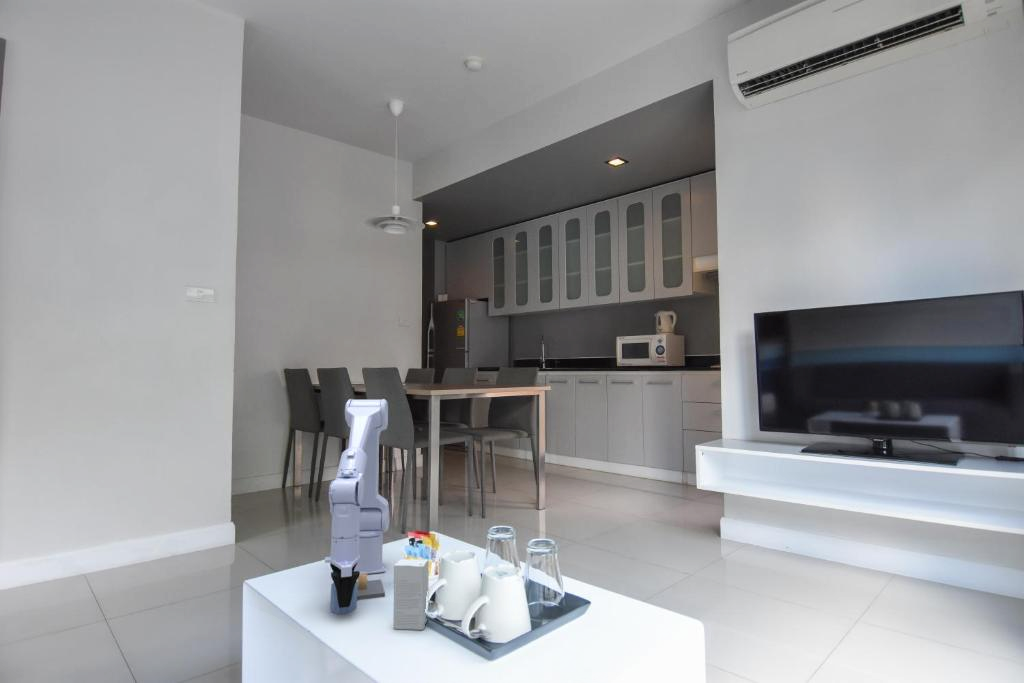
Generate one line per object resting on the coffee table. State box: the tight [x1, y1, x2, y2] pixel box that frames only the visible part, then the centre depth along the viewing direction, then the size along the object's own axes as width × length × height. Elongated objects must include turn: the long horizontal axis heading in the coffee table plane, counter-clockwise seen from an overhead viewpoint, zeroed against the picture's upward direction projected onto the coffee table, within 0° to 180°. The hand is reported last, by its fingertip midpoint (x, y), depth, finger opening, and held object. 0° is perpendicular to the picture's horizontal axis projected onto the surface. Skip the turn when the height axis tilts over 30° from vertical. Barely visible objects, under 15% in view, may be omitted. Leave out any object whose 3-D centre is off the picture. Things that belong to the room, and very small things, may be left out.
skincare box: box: [392, 558, 430, 631], centre depth 107 cm, size 6×4×12 cm
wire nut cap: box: [329, 581, 358, 615], centre depth 115 cm, size 5×5×5 cm
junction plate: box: [356, 573, 386, 601], centre depth 124 cm, size 9×9×4 cm
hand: (343, 601), depth 114 cm, fingers closed on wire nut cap, 5 cm apart
